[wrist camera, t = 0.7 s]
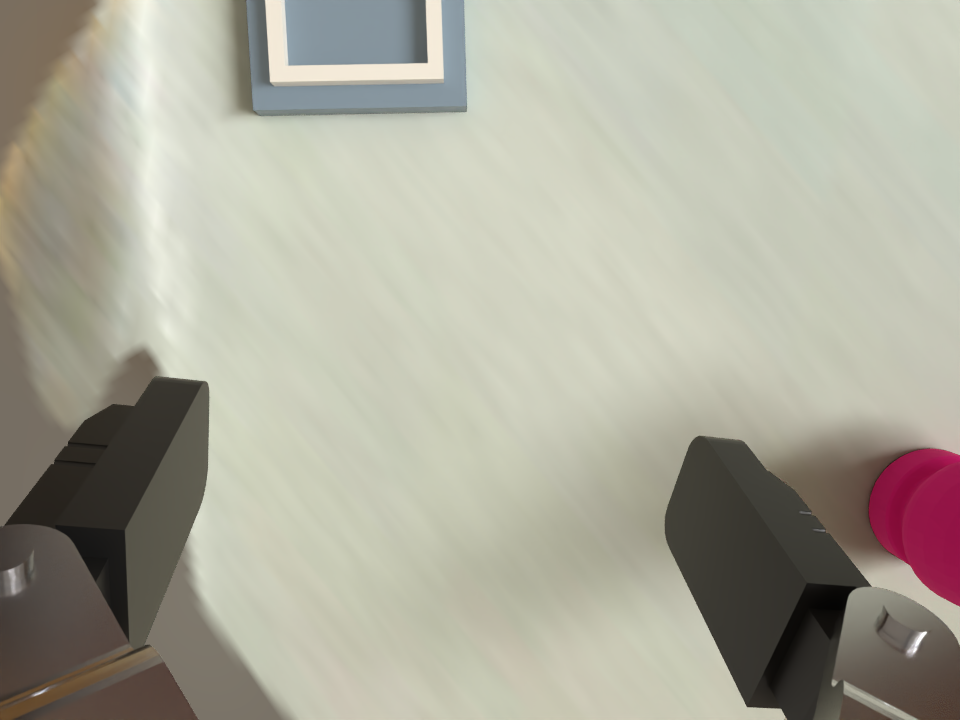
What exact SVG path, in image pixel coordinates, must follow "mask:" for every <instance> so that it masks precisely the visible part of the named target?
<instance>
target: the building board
mask: <svg viewBox="0 0 960 720" xmlns="http://www.w3.org/2000/svg"><path fill="white" fill-rule="evenodd" d="M246 5H247V21H248V37H249V53H250V69H251V84H252V100H253V111H255V112H256V113H257V114H258V115H260V116H277V115H327V114H376V113H426V112H466V111H467V91H466V57H465V22H464V0H246Z"/></svg>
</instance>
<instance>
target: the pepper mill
mask: <svg viewBox="0 0 960 720" xmlns="http://www.w3.org/2000/svg"><path fill="white" fill-rule="evenodd" d="M869 519H870V523H871V527H872V529H873V532H874V534H875V536H876V538H877V539H878V541H879V542H880V544H881V545H882V546H883V547H884V548H885V549H886V550H887V551H889V552H890V553H892V554H893V555H895V556H896V557H898V558H899V559H901V560H903V561H904V562H906V563H907V564H909V565H910V566H911V567H912V569H913V571H914V573H915V574H916V576H917V577H918V578H919V579H920V580H921V582H922V583H923V584H924V585H926V586H927V587H928V588H929V589H930V590H931V591H933V592H934V593H936V594H937V595H939V596H940V597H942V598H944V599H946V600H948V601H950V602H952V603H954V604H956V605H958V606H960V455H957V454H955V453H952V452H949V451H945V450H940V449H921V450H917V451H913V452H910V453H908V454H906V455H903V456H901V457H900V458H898V459H897V460H895V461H894V462H893V463H891V464H890V465H889V466H888V467H887V468H886V469H885V470H884V471H883V472H882V474H881V475H880V476H879V478H878V479H877V481H876V483H875V485H874V488H873V490H872V493H871V496H870V502H869Z"/></svg>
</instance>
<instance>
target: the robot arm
mask: <svg viewBox="0 0 960 720" xmlns="http://www.w3.org/2000/svg"><path fill="white" fill-rule="evenodd" d="M208 437H209V386H208V383H207V382H206V381H197V380H188V379H179V378H169V377H160V376H156V377H154V378H153V379H152V381H151V382H150V384H149V385H148V387H147V388H146V390H145V391H144V393H143V394H142V396H141V397H140V399H139V400H138V402H137V403H136V405H135V406H127V405H117V404H112V405H111V406H109V407H107V408H106V409H104V410H102V411H100V412H99V413H97V414H95V415H93V416H92V417H90V418H88V419H87V420H85V421H84V422H83V423H82V424H81V426H80V427H79V428H78V430H77V431H76V432H75V434H74V435H73V436H72V438H71V439H70V440H69V441H68V446H65V447H64V448H63V449H62V451H61V452H60V453H59V455H58V456H57V457H56V459H55V462H54V464H51V465H50V467H49V468H48V469H47V471H46V472H45V473H44V474H43V476H42V477H41V478H40V479H39V481H38V482H37V483H36V485H35V486H34V487H33V488H32V490H31V491H30V492H29V494H28V495H27V496H26V498H25V499H24V500H23V502H22V503H21V504H20V505H19V507H18V508H17V509H16V511H15V512H14V513H13V515H12V516H11V517H10V519H9V520H8V521H7V523H6V524H5V525H4V526H0V720H198V718H197V716H196V714H195V713H194V711H193V709H192V708H191V706H190V704H189V703H188V701H187V699H186V698H185V696H184V694H183V692H182V691H181V689H180V687H179V686H178V684H177V682H176V681H175V679H174V677H173V675H172V674H171V672H170V670H169V669H168V667H167V666H166V664H165V662H164V660H163V659H162V657H161V656H160V654H159V653H158V652H157V650H156V649H154V648H153V647H152V646H150V645H144V644H145V642H146V639H147V637H148V635H149V632H150V630H151V627H152V625H153V622H154V620H155V617H156V614H157V612H158V610H159V607H160V605H161V602H162V600H163V597H164V595H165V593H166V590H167V587H168V585H169V582H170V580H171V578H172V575H173V573H174V570H175V568H176V565H177V563H178V560H179V558H180V555H181V553H182V551H183V548H184V546H185V543H186V541H187V538H188V536H189V533H190V531H191V528H192V526H193V523H194V521H195V518H196V516H197V513H198V511H199V509H200V506H201V503H202V500H203V496H204V491H205V486H206V480H207V471H208ZM665 535H666V540H667V544H668V546H669V548H670V550H671V552H672V554H673V556H674V558H675V561H676V563H677V565H678V567H679V569H680V571H681V573H682V575H683V577H684V579H685V581H686V583H687V585H688V587H689V589H690V591H691V593H692V595H693V597H694V599H695V601H696V604H697V606H698V608H699V610H700V612H701V614H702V616H703V618H704V620H705V622H706V624H707V626H708V628H709V630H710V632H711V634H712V636H713V638H714V640H715V642H716V644H717V647H718V649H719V651H720V653H721V655H722V657H723V659H724V661H725V663H726V665H727V667H728V669H729V671H730V673H731V675H732V677H733V679H734V681H735V683H736V685H737V687H738V690H739V692H740V694H741V696H742V698H743V700H744V702H745V704H746V706H747V707H757V708H780V709H782V711H783V713H784V715H785V719H784V720H960V645H959V643H958V640H957V639H956V637H955V636H954V634H953V633H952V631H951V630H950V629H949V628H948V626H947V625H946V624H945V623H944V622H943V621H942V620H941V619H939V618H938V617H937V616H936V615H935V614H933V613H932V612H931V611H929V610H928V609H926V608H925V607H924V606H922V605H920V604H919V603H917V602H915V601H914V600H912V599H910V598H908V597H906V596H903V595H901V594H898V593H896V592H893V591H890V590H887V589H882V588H877V587H872V586H871V585H870V584H869V582H868V581H867V580H866V579H865V578H864V576H863V575H862V574H861V573H860V571H859V570H858V569H857V568H856V566H855V565H854V564H853V563H852V561H851V560H850V559H849V558H848V556H847V555H846V554H845V553H844V551H843V550H842V549H841V548H840V546H839V545H838V544H837V543H836V541H835V540H834V539H833V538H832V536H831V535H830V534H828V533H825V528H824V526H823V525H822V524H821V523H820V522H819V520H818V519H817V518H816V517H815V516H812V515H811V510H810V509H809V508H808V507H807V505H806V504H805V503H804V502H803V500H802V499H801V498H800V497H799V495H798V494H797V493H796V492H795V491H794V490H793V489H792V488H790V487H789V486H788V485H786V484H785V483H784V482H782V481H781V480H780V479H778V478H777V477H776V476H774V475H773V474H772V473H771V472H769V471H767V470H766V469H765V468H764V466H763V465H762V464H761V463H760V461H759V460H758V459H757V457H756V456H755V455H754V454H753V452H752V451H751V450H750V448H749V447H748V446H747V445H746V444H745V442H743V441H741V440H734V439H725V438H715V437H706V436H698V437H696V438H695V439H694V440H693V441H692V442H691V444H690V446H689V448H688V451H687V453H686V456H685V459H684V462H683V465H682V468H681V470H680V473H679V476H678V479H677V482H676V484H675V487H674V490H673V493H672V496H671V499H670V501H669V504H668V507H667V511H666V516H665Z"/></svg>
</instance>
